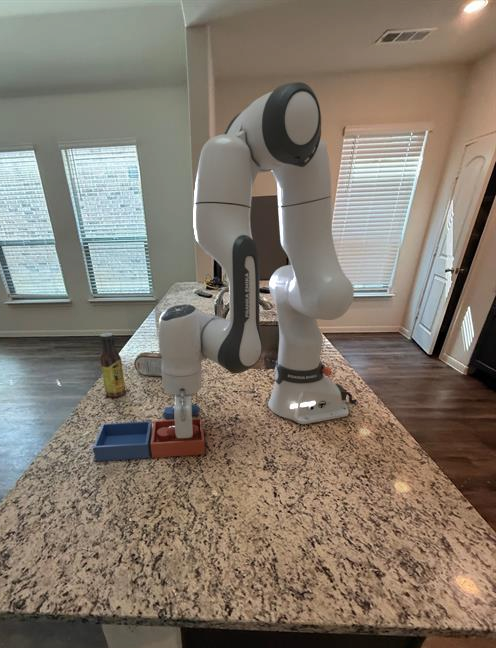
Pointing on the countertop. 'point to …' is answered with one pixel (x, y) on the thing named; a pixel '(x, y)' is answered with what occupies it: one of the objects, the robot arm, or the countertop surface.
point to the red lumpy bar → (172, 433)
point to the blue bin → (123, 441)
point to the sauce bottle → (111, 367)
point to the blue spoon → (170, 411)
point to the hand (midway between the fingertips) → (185, 430)
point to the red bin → (177, 441)
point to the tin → (149, 364)
